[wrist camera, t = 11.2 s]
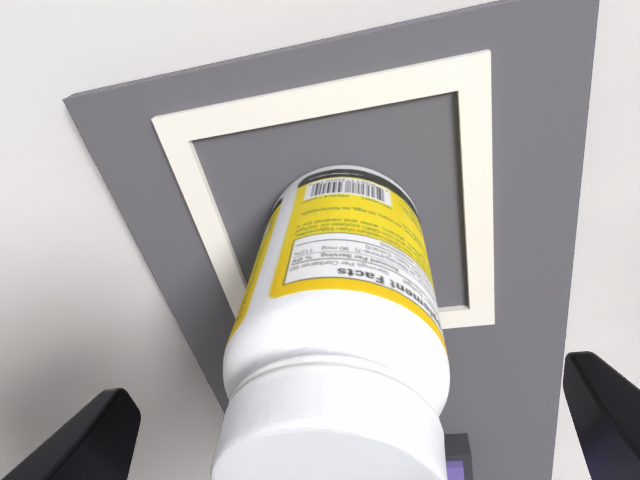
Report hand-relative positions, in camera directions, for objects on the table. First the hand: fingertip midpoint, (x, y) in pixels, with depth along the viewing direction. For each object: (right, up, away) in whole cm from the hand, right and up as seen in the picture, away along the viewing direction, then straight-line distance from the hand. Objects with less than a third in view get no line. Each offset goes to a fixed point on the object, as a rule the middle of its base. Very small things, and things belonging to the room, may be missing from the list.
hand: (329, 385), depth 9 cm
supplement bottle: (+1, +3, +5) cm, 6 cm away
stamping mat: (+2, -3, +10) cm, 10 cm away
